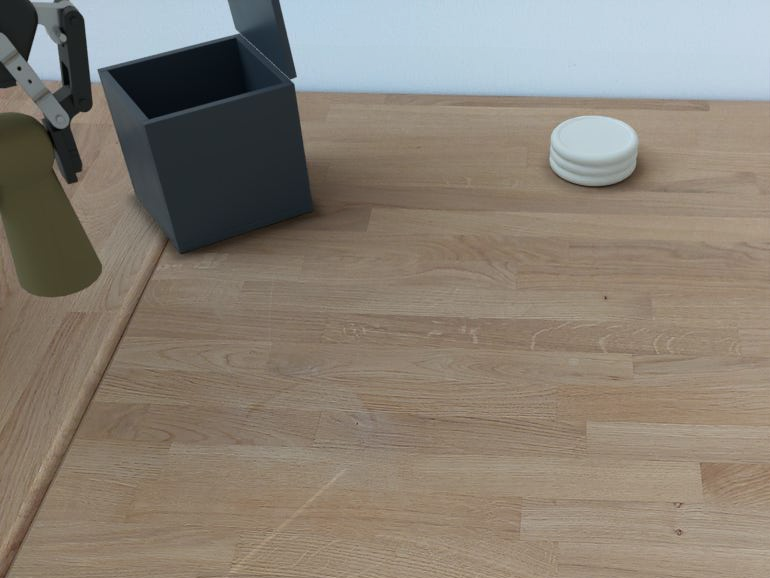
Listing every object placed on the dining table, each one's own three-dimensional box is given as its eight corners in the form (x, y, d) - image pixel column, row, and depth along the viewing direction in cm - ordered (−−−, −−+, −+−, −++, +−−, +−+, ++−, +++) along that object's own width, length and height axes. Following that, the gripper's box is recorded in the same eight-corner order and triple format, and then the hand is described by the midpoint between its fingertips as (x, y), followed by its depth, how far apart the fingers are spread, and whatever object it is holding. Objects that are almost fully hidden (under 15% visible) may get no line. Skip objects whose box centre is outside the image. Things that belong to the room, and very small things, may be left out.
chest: (180, 253, 101) (144, 124, 91) (135, 195, 108) (96, 68, 97) (313, 210, 106) (294, 83, 95) (262, 157, 113) (239, 32, 102)
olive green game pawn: (1, 278, 71) (-67, 127, 62) (64, 240, 74) (8, 91, 65) (56, 307, 69) (-6, 155, 60) (119, 267, 72) (69, 116, 63)
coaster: (652, 163, 112) (657, 132, 109) (600, 198, 107) (603, 167, 105) (584, 135, 116) (587, 104, 113) (531, 167, 111) (532, 136, 109)
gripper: (-218, -61, 49) (-65, 247, 62) (63, -112, 53) (147, 186, 67) (-241, -106, 52) (-92, 194, 66) (23, -151, 57) (111, 139, 71)
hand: (28, 188), depth 66 cm, fingers closed on olive green game pawn, 5 cm apart
